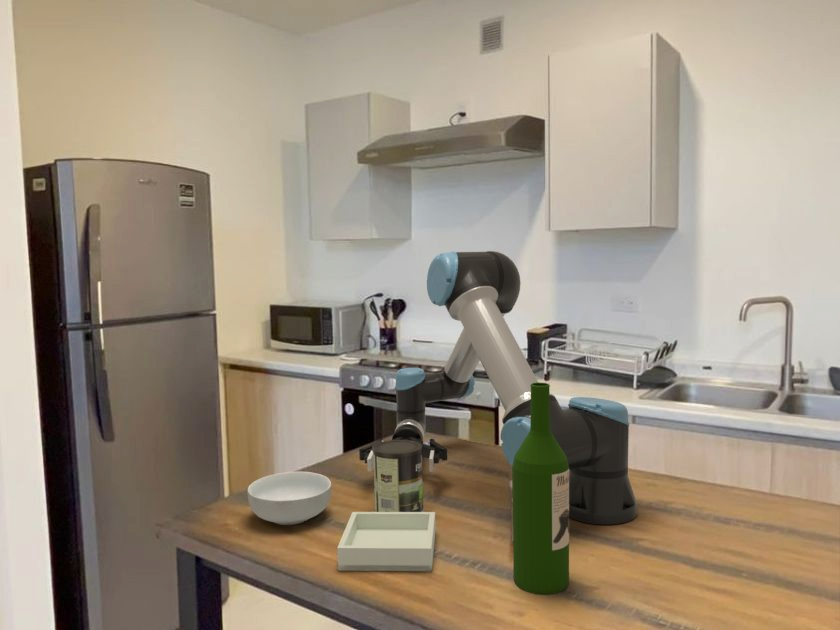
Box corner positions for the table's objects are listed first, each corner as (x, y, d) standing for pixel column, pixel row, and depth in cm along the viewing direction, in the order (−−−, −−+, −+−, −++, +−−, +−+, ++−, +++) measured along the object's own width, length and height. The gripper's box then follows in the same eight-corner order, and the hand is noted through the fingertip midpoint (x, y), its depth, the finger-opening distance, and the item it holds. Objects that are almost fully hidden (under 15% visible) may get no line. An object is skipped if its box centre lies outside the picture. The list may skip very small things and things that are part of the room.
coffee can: (424, 502, 146) (422, 438, 145) (423, 521, 136) (421, 453, 135) (376, 503, 146) (374, 439, 145) (372, 522, 136) (369, 453, 135)
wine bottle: (556, 600, 104) (556, 392, 101) (504, 585, 109) (502, 386, 106) (577, 576, 112) (577, 381, 109) (527, 563, 117) (525, 377, 114)
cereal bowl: (231, 528, 135) (230, 494, 134) (277, 499, 150) (275, 468, 150) (307, 539, 129) (305, 503, 128) (346, 507, 144) (345, 475, 144)
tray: (435, 532, 131) (435, 512, 130) (431, 571, 115) (431, 548, 114) (353, 531, 132) (352, 511, 131) (338, 570, 116) (337, 547, 115)
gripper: (458, 452, 168) (457, 482, 147) (358, 453, 170) (343, 481, 149) (458, 423, 168) (456, 448, 147) (357, 423, 169) (342, 448, 148)
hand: (399, 465), depth 148 cm, fingers open, 13 cm apart
